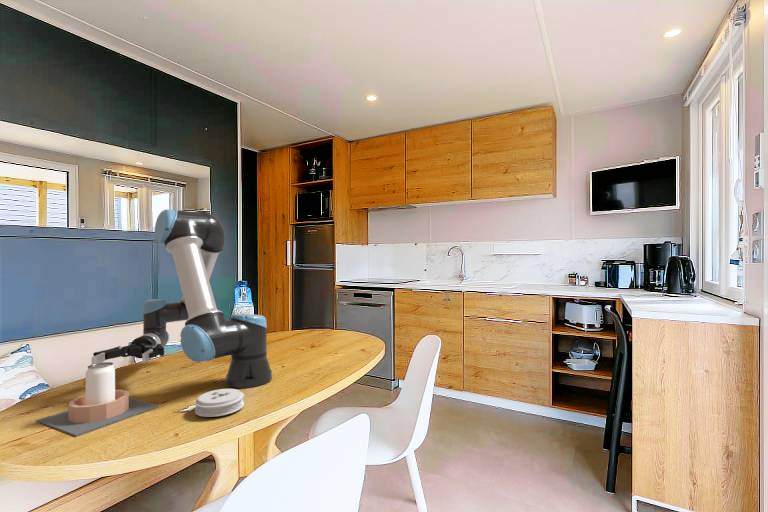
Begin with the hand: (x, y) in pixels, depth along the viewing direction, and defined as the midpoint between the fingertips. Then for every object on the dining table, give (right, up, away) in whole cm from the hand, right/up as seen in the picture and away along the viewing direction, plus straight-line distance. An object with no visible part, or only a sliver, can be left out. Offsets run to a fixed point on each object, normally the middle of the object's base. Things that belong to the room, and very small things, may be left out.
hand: (118, 360), depth 114 cm
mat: (+3, -12, -11) cm, 16 cm away
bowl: (+3, -12, -11) cm, 16 cm away
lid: (+35, -12, -10) cm, 38 cm away
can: (+3, -10, -11) cm, 16 cm away
